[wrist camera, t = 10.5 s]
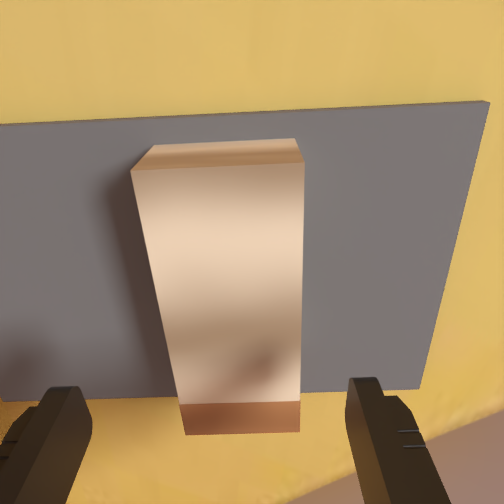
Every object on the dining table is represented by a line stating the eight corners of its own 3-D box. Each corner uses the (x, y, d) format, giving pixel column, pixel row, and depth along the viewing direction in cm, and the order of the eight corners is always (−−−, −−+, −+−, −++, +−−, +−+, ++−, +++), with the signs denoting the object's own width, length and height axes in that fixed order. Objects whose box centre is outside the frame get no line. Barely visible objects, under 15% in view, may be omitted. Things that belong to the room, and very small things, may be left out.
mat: (8, 394, 21) (3, 401, 20) (-133, 130, 14) (-145, 133, 13) (415, 381, 20) (419, 389, 20) (482, 100, 13) (490, 102, 13)
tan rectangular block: (153, 144, 13) (129, 170, 11) (295, 138, 13) (305, 162, 11) (194, 381, 19) (185, 435, 17) (293, 377, 19) (299, 431, 17)
